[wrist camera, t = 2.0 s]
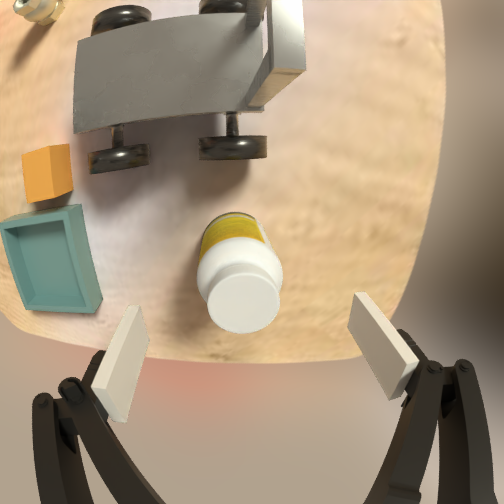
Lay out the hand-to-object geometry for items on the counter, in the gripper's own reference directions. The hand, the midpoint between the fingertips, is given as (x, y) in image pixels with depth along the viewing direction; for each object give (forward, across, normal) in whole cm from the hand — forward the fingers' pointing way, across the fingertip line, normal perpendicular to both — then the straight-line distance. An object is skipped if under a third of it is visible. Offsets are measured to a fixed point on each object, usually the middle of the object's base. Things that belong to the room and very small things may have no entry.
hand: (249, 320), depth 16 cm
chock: (+13, -19, +10) cm, 25 cm away
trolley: (+13, -6, +16) cm, 21 cm away
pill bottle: (+13, 0, 0) cm, 13 cm away
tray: (+13, -22, 0) cm, 26 cm away
